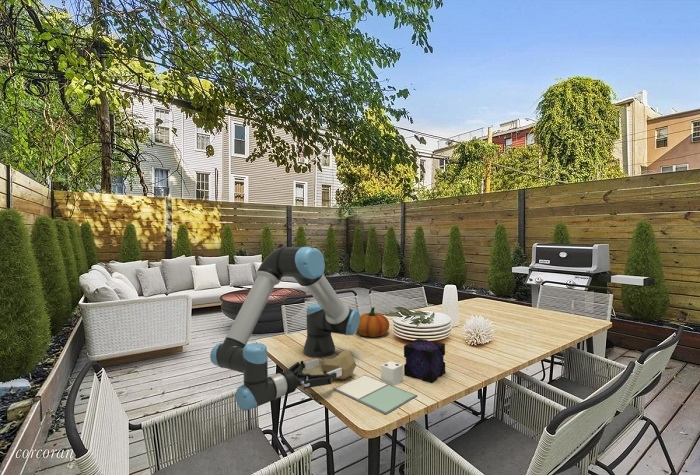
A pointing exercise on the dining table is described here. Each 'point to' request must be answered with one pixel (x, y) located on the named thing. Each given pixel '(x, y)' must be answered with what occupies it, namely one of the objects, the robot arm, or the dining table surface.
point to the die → (391, 372)
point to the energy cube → (424, 360)
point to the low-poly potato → (340, 364)
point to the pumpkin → (373, 324)
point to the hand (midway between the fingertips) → (329, 366)
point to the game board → (375, 394)
